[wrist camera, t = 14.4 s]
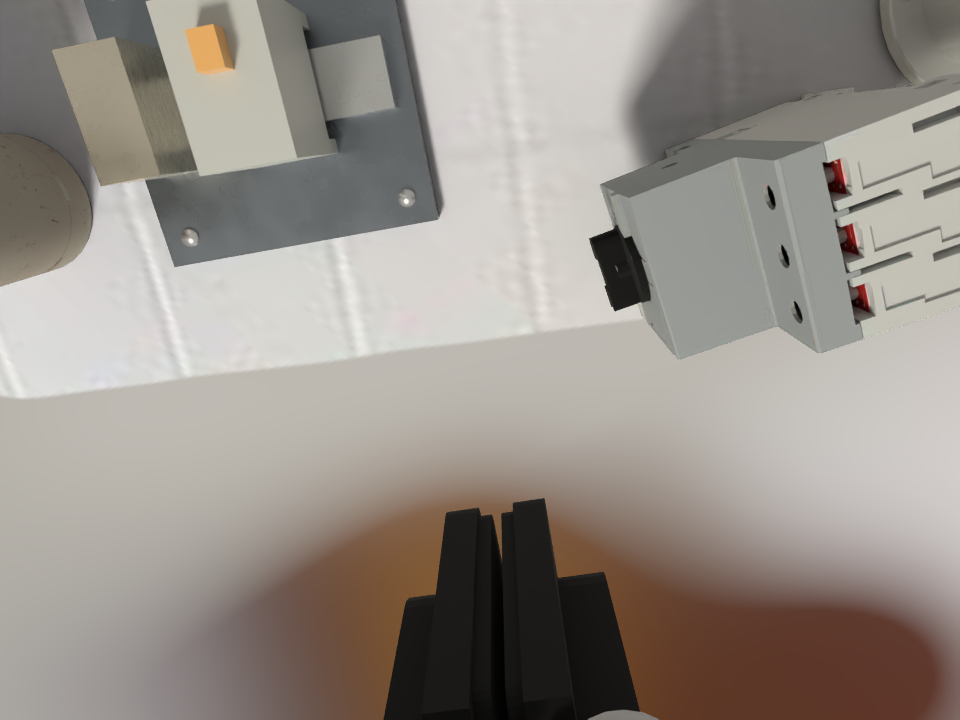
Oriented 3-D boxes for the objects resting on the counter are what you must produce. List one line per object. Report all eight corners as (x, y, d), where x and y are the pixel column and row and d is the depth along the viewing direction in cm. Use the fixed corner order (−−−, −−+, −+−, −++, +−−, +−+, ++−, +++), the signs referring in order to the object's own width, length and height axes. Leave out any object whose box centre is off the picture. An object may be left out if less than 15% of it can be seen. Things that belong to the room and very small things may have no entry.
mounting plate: (376, -100, 32) (348, -158, 26) (438, 217, 37) (428, 235, 31) (80, -34, 33) (-18, -74, 27) (180, 264, 39) (118, 290, 32)
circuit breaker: (561, 190, 37) (604, 226, 23) (809, 92, 35) (1025, 64, 21) (601, 308, 39) (662, 406, 25) (835, 222, 37) (1046, 277, 23)
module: (305, 14, 33) (241, -27, 25) (338, 152, 36) (290, 158, 27) (223, 31, 34) (132, -4, 25) (261, 167, 36) (189, 177, 27)
